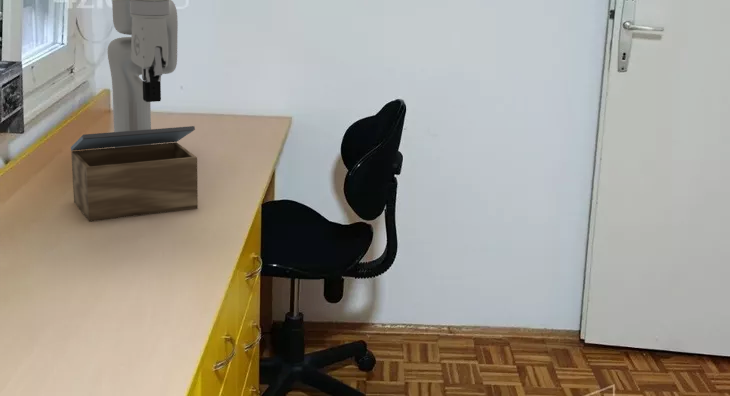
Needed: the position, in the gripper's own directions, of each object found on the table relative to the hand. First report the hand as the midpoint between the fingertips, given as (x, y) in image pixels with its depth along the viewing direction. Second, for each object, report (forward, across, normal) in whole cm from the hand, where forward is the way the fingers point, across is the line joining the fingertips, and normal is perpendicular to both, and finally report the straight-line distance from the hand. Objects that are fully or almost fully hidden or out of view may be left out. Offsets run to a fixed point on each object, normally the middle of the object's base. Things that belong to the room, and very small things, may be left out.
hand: (152, 100), depth 179 cm
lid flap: (+12, -15, 0) cm, 19 cm away
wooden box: (+27, -14, 0) cm, 30 cm away
